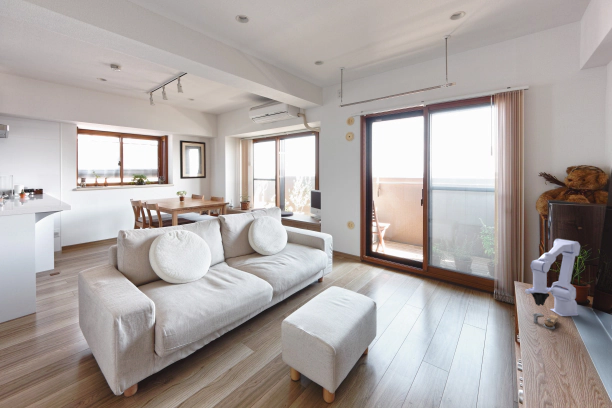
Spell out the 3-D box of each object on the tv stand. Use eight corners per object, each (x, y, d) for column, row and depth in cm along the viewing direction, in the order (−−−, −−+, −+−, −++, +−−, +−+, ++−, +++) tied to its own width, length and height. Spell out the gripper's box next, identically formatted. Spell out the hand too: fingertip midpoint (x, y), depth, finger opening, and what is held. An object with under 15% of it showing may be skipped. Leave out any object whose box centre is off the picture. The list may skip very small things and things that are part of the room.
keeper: (543, 322, 150) (543, 315, 149) (536, 323, 150) (536, 315, 149) (539, 320, 152) (539, 312, 152) (532, 321, 152) (532, 313, 152)
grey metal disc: (549, 324, 148) (549, 323, 148) (557, 329, 143) (557, 327, 143) (540, 324, 148) (540, 323, 148) (548, 329, 144) (548, 328, 143)
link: (552, 327, 143) (552, 321, 143) (543, 325, 146) (543, 318, 146) (558, 320, 149) (558, 313, 149) (550, 317, 152) (550, 311, 152)
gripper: (532, 285, 145) (532, 309, 146) (559, 283, 144) (559, 307, 145) (522, 280, 152) (522, 302, 153) (548, 278, 151) (548, 301, 152)
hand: (539, 304), depth 150 cm, fingers closed
